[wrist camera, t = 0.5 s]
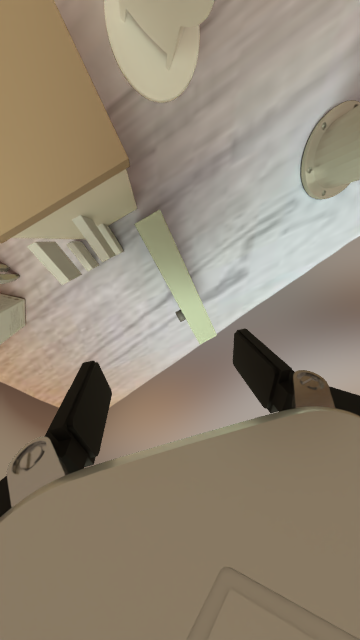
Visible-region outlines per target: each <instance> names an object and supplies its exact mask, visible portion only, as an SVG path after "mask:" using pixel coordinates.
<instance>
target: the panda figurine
mask: <svg viewBox="0 0 360 640" xmlns="http://www.w3.org/2000/svg"><path fill="white" fill-rule="evenodd" d="M214 1H215V0H104V11H105V21H106V27H107V32H108V37H109V41H110V45H111V48H112V51H113V54H114V56H115V59H116V61H117V63H118V66H119V68H120V69H121V71H122V73H123V75H124V76H125V78H126V79H127V81H128V82H129V83H130V85H131V86H132V87H133V88H134V89H135V90H136V91H137V92H138V93H139V94H140V95H142V96H143V97H145V98H146V99H148V100H151V101H153V102H158V103H165V102H169V101H172V100H174V99H176V98H177V97H178V96H180V95H181V94H182V93H183V92H184V90H185V89H186V88H187V86H188V84H189V82H190V80H191V78H192V76H193V73H194V70H195V67H196V63H197V58H198V52H199V41H200V29H199V24H201V23H202V22H203V21H204V20H205V19H206V18H207V17H208V16H209V14H210V12H211V9H212V6H213V4H214Z"/></svg>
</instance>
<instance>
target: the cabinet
mask: <svg viewBox="0 0 360 640" xmlns="http://www.w3.org/2000/svg"><path fill="white" fill-rule="evenodd" d="M128 167H130V164H129V159H128V157H127V154H126V152H125V150H124V148H123V146H122V144H121V142H120V140H119V137H118V135H117V133H116V131H115V129H114V127H113V125H112V123H111V121H110V118H109V116H108V114H107V112H106V110H105V108H104V106H103V104H102V101H101V99H100V97H99V95H98V93H97V91H96V89H95V87H94V85H93V82H92V80H91V78H90V76H89V74H88V72H87V70H86V68H85V65H84V63H83V61H82V59H81V57H80V55H79V53H78V51H77V49H76V46H75V44H74V42H73V40H72V38H71V36H70V34H69V32H68V29H67V27H66V25H65V23H64V21H63V19H62V17H61V15H60V13H59V10H58V8H57V6H56V4H55V2H54V0H0V243H4V242H5V241H7V240H8V239H10V238H45V239H86V240H87V242H88V243H89V244H90V246H91V247H92V249H93V250H94V251H95V253H96V254H97V256H98V257H99V258H100V260H101V261H102V262H104V261H106V260H108V259H110V258H111V257H113V256H115V255H118V254H120V253H122V252H123V251H124V250H123V249H122V247H121V246H120V244H119V242H118V241H117V239H116V238H115V236H114V234H113V233H112V231H111V230H110V228H109V225H110V224H112V223H114V222H115V221H117V220H119V219H120V218H122V217H124V216H126V215H127V214H129V213H131V212H132V211H134V210H136V209H137V206H136V203H135V199H134V195H133V192H132V188H131V185H130V181H129V177H128V174H127V170H126V168H128ZM67 246H68V247H69V249H70V250H71V251H72V252H73V254H74V255H75V256H76V257H77V259H78V260H79V261H80V262H81V264H82V265H83V266H84V268H85V269H86V270H87V271H90V270H92V269H94V268H95V267H97V266H99V264H98V263H97V262H96V260H95V259H94V258H93V256H92V255H91V254H90V252H89V251H88V249H87V248H86V247H85V245H84V244H83V243H82V241H72V242H70V243H68V244H67ZM27 247H28V248H29V249H30V250H31V252H32V253H33V254H34V255H35V256H36V257H37V258H38V259H39V260H40V261H41V262H42V264H43V265H44V266H45V267H46V268H47V269H48V270H49V271H50V272H51V273H52V274H53V276H54V277H55V278H56V279H57V280H58V281H59V282H60V283H61V284H62V285H63V284H65V283H67V282H69V281H71V280H73V279H75V278H77V277H78V276H80V275H82V274H81V272H80V271H79V270H78V269H77V268H76V266H75V265H74V264H73V263H72V261H71V260H70V259H69V258H68V257H67V255H66V254H65V253H64V252H63V250H62V249H61V248H60V247H59V246H58V244H57V243H56V242H34V243H32V244H31V245H29V246H27Z"/></svg>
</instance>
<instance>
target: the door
mask: <svg viewBox="0 0 360 640" xmlns="http://www.w3.org/2000/svg"><path fill="white" fill-rule="evenodd" d="M134 225H135V226H136V228H137V230H138V232H139V234H140V236H141V237H142V239H143V241H144V243H145V245H146V247H147V248H148V250H149V252H150V254H151V256H152V258H153V259H154V261H155V263H156V265H157V267H158V269H159V270H160V272H161V274H162V276H163V278H164V280H165V281H166V283H167V285H168V287H169V289H170V291H171V292H172V294H173V296H174V298H175V300H176V302H177V303H178V305H179V307H180V309H181V310H179V311H177V312H175V313H176V315H177V317H178V319H179V320H180V322H182V321H183V320H185V319H186V320H187V322H188V324H189V325H190V327H191V329H192V331H193V333H194V334H195V336H196V338H197V340H198V342H199V344H202V343H204V342H206V341H207V340H209V339H211V338H213V337H215V336H217V335H216V333H215V330H214V328H213V326H212V324H211V322H210V319H209V317H208V315H207V313H206V310H205V308H204V306H203V304H202V302H201V299H200V297H199V295H198V293H197V291H196V288H195V286H194V284H193V282H192V279H191V277H190V275H189V273H188V271H187V268H186V266H185V264H184V262H183V260H182V257H181V255H180V253H179V251H178V248H177V246H176V244H175V242H174V240H173V237H172V235H171V233H170V231H169V228H168V226H167V224H166V222H165V220H164V217H163V215H162V213H161V211H160V210H158V211H156V212H155V213H153V214H151V215H149V216H148V217H146V218H144V219H142V220H141V221H139V222H137V223H136V224H134Z"/></svg>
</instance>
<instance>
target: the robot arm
mask: <svg viewBox="0 0 360 640" xmlns="http://www.w3.org/2000/svg"><path fill="white" fill-rule="evenodd" d="M301 177H302V183H303V186H304V189H305V191H306V192H307V194H308V195H310V196H311V197H312V198H315V199H326V198H330V197H333V196H335V195H337V194H339V193H340V192H341V191H343V190H344V189H345V188H346V187H347V186H348V185H349V184H350V183H351V182H354V181H358V180H360V102H359V101H354V100H351V101H346V102H343V103H341V104H339V105H338V106H336V107H335V108H333V109H332V110H330V111H329V112H328V113H327V114H326V115H325V116H324V117H323V118H322V119H321V120H320V121H319V123H318V124H317V126H316V127H315V129H314V130H313V132H312V134H311V136H310V138H309V140H308V142H307V145H306V148H305V151H304V155H303V159H302V166H301ZM233 364H234V366H235V368H236V369H237V371H238V372H239V373H240V375H241V376H242V378H243V379H244V380H245V382H246V383H247V385H248V386H249V388H250V389H251V390H252V392H253V393H254V395H255V396H256V397H257V399H258V400H259V402H260V403H261V404H262V406H263V407H264V408H267V409H268V410H269V412H270V413H273V414H269V415H265V416H262V417H258V418H255V419H251V420H247V421H244V422H240V423H237V424H233V425H230V426H226V427H223V428H219V429H216V430H212V431H209V432H205V433H202V434H198V435H195V436H191V437H188V438H184V439H181V440H177V441H174V442H170V443H167V444H164V445H160V446H157V447H153V448H150V449H147V450H143V451H140V452H136V453H133V454H130V455H126V456H123V457H119V458H116V459H113V460H110V461H107V462H104V463H101V464H97V465H94V466H91V467H88V468H84V467H87V466H90V465H93V464H94V461H95V457H96V456H98V454H99V451H100V446H101V441H102V437H103V432H104V428H105V423H106V419H107V414H108V410H109V405H110V401H111V396H112V392H111V389H110V387H109V385H108V383H107V380H106V378H105V376H104V374H103V372H102V370H101V368H100V366H99V364H98V363H97V362H96V363H95V361H89V362H85V363H83V364H82V366H81V368H80V370H79V372H78V373H77V375H76V377H75V379H74V381H73V383H72V385H71V387H70V389H69V390H68V392H67V394H66V396H65V398H64V400H63V402H62V404H61V406H60V408H59V410H58V411H57V414H56V415H55V417H54V419H53V421H52V423H51V425H50V427H49V429H48V431H47V433H46V435H45V437H39V438H37V439H34V440H32V441H31V442H30V443H28V444H26V445H25V446H24V447H23V448H22V449H21V450H20V451H19V452H18V453H17V454H16V455H15V456H14V458H13V459H12V461H11V462H10V464H9V466H8V469H7V476H6V477H5V478H3V479H2V480H1V481H0V640H360V396H359V395H356V394H352V393H349V392H346V391H342V390H339V389H336V388H333V387H329V386H328V384H327V382H326V381H325V380H324V379H323V378H322V377H321V376H319V375H318V374H315V373H313V372H310V371H306V370H299V371H296V372H294V371H293V370H292V368H290V367H289V366H288V365H287V364H286V363H285V362H284V361H283V360H281V359H280V358H279V357H278V356H277V355H275V354H274V353H273V352H272V351H271V350H270V349H269V348H268V347H266V346H265V345H264V344H263V343H262V342H261V341H260V340H258V339H257V338H256V337H255V336H254V335H253V334H251V333H250V332H249V331H248V330H247V329H241V330H237V332H236V333H235V334H234V350H233ZM277 411H279V412H277ZM274 412H277V413H274Z"/></svg>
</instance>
